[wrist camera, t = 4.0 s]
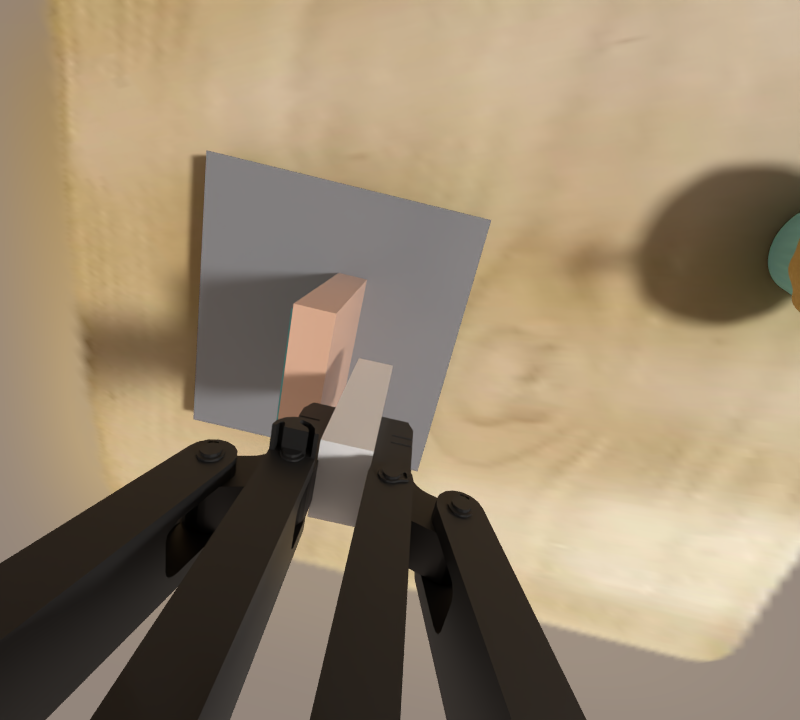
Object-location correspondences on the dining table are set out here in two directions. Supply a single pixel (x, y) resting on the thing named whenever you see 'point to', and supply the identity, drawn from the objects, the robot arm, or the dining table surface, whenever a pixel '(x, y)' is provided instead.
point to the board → (311, 267)
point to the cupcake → (787, 259)
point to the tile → (320, 344)
